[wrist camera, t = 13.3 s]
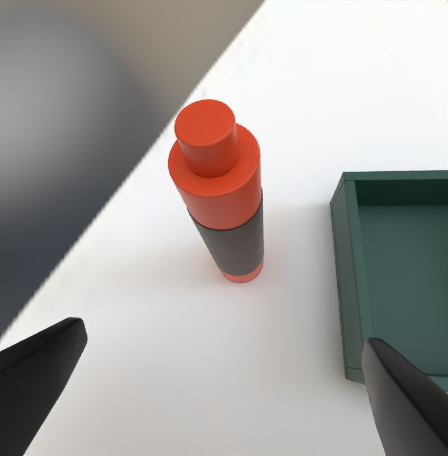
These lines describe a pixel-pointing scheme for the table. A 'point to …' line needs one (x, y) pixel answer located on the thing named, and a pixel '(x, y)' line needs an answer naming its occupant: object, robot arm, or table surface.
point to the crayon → (221, 185)
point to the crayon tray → (393, 266)
